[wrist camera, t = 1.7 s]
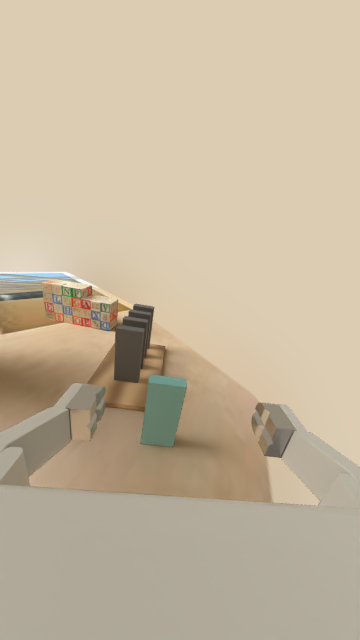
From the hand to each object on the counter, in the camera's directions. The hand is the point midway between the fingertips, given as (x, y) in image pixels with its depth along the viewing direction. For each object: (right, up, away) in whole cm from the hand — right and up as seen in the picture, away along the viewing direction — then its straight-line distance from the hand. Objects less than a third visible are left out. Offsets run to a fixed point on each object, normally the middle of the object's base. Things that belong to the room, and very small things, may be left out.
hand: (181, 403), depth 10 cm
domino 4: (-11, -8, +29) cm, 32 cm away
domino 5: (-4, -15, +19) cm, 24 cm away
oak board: (-11, -7, +33) cm, 36 cm away
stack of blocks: (-33, +4, +51) cm, 61 cm away
